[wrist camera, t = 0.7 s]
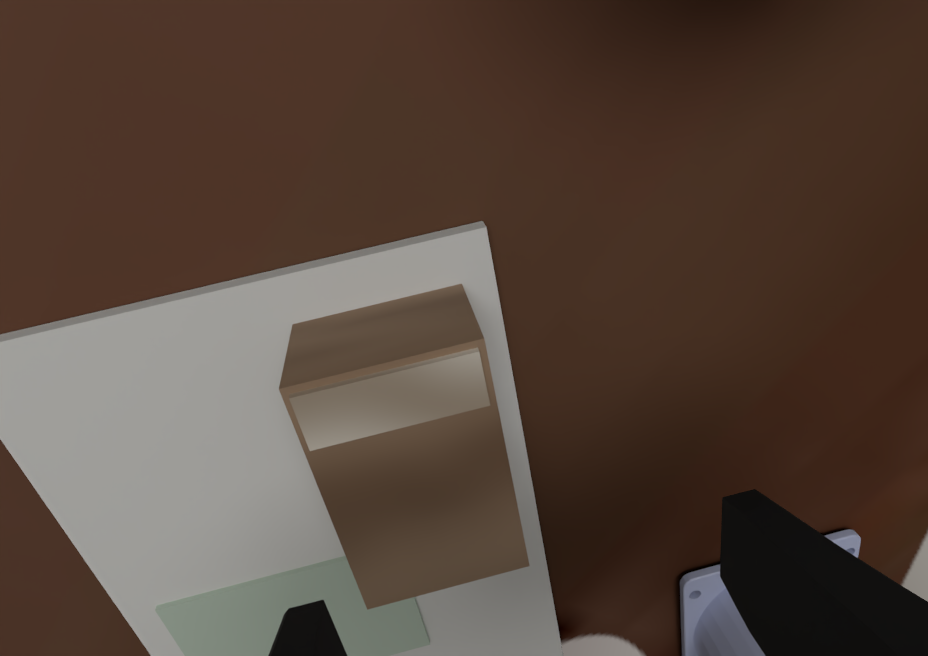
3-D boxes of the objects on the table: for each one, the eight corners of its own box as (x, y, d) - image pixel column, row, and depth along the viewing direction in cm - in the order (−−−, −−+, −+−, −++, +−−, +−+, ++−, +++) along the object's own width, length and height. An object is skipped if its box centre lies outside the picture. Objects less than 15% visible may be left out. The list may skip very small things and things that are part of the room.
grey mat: (559, 649, 27) (565, 665, 26) (224, 742, 26) (220, 762, 25) (482, 221, 17) (487, 229, 17) (-45, 345, 17) (-63, 359, 16)
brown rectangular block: (504, 487, 21) (531, 571, 18) (365, 523, 21) (367, 615, 18) (461, 283, 18) (485, 342, 14) (292, 324, 17) (277, 393, 14)
